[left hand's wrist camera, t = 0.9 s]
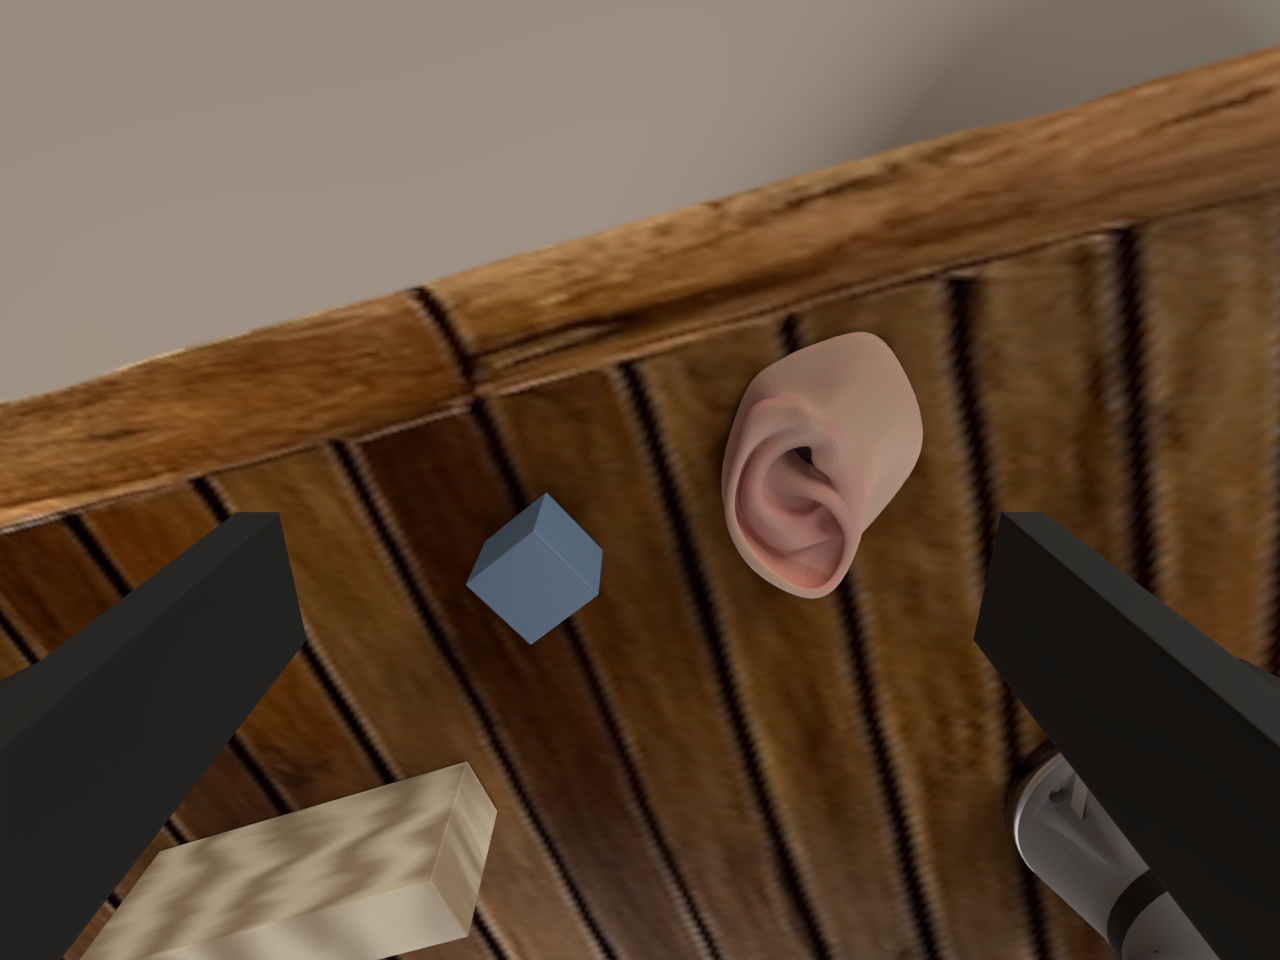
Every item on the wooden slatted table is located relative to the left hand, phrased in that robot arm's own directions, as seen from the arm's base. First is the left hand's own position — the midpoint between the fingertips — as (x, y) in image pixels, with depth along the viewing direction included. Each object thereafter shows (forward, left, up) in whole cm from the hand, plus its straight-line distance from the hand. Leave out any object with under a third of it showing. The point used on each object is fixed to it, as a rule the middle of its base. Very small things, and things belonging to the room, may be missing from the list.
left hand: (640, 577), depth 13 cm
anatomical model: (-10, -7, -25) cm, 28 cm away
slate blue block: (-10, +10, -25) cm, 29 cm away
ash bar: (-26, +34, -25) cm, 49 cm away
